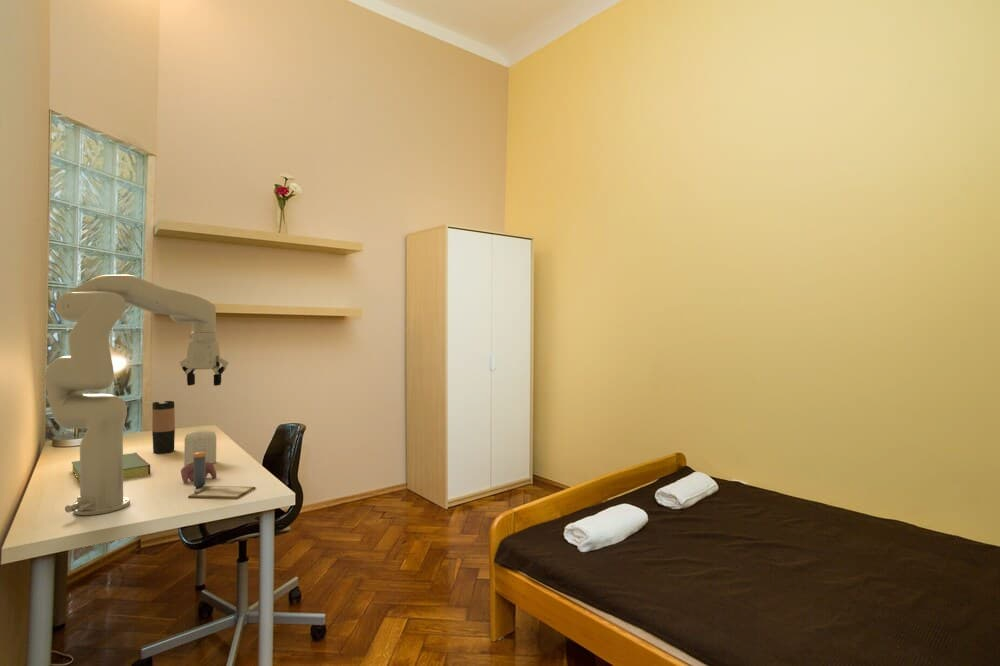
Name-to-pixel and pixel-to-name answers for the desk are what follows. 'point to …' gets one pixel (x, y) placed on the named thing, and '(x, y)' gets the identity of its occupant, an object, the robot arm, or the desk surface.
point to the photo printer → (200, 445)
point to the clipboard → (221, 492)
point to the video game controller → (189, 471)
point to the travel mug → (163, 427)
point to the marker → (199, 469)
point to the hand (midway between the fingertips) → (204, 385)
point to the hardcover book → (125, 466)
